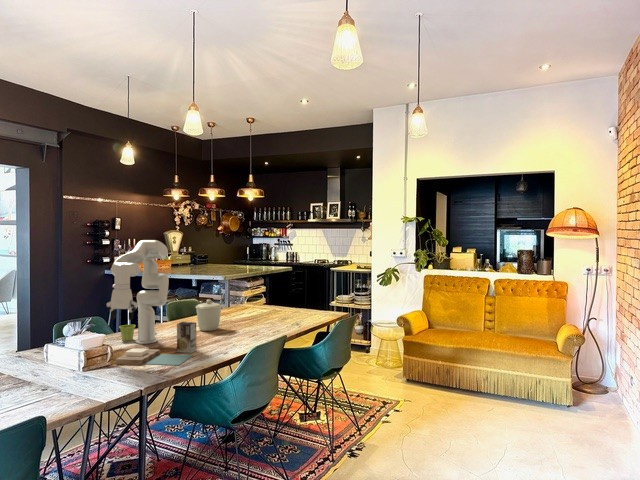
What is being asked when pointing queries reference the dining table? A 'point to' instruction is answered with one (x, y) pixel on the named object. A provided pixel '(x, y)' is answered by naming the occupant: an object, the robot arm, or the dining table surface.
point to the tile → (136, 352)
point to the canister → (208, 315)
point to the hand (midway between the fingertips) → (122, 319)
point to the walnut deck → (138, 358)
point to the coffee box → (186, 337)
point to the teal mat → (169, 359)
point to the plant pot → (127, 332)
